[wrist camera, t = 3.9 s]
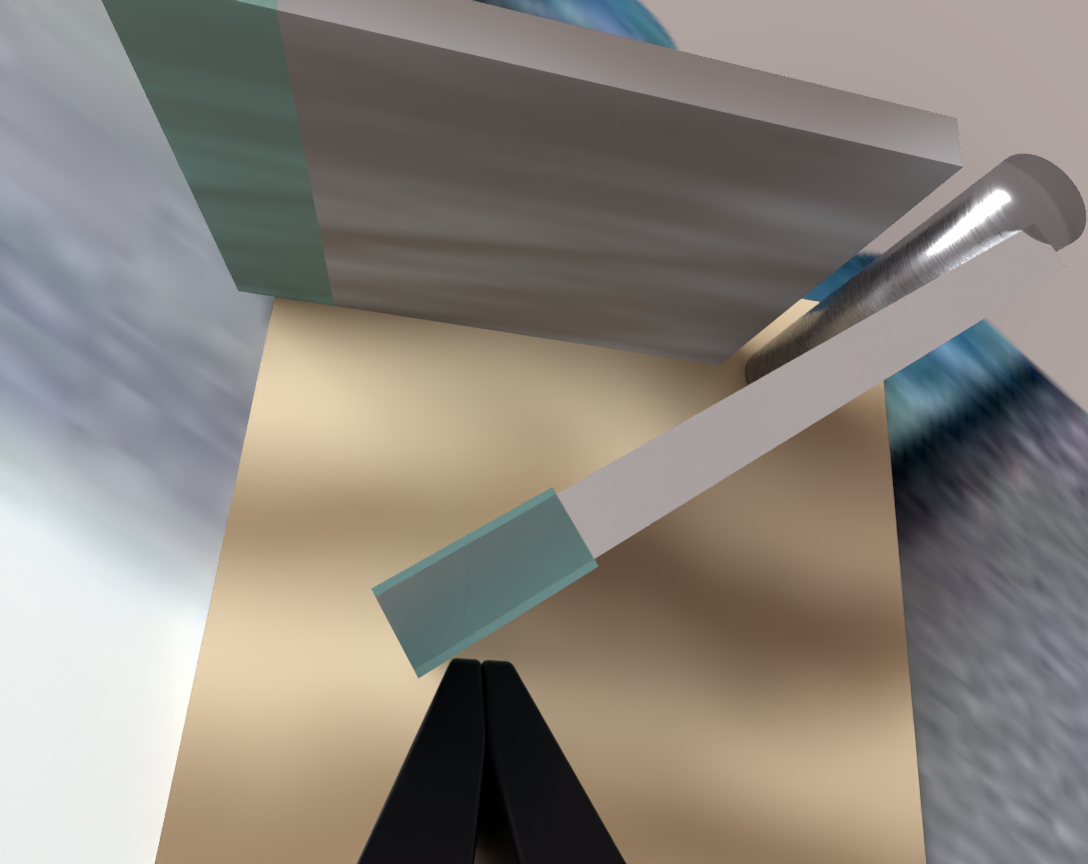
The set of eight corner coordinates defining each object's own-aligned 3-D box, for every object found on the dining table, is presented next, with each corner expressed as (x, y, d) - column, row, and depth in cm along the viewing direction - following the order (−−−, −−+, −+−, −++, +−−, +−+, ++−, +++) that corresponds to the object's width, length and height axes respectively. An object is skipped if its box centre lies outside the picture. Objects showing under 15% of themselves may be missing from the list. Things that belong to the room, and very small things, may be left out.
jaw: (820, 402, 20) (1119, 241, 11) (406, 651, 15) (418, 678, 7) (778, 339, 20) (1040, 141, 12) (362, 567, 16) (325, 502, 8)
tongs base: (912, 967, 17) (1534, 1377, 8) (91, 983, 13) (-570, 1755, 4) (861, 323, 22) (1190, 106, 13) (264, 219, 19) (136, -174, 10)
